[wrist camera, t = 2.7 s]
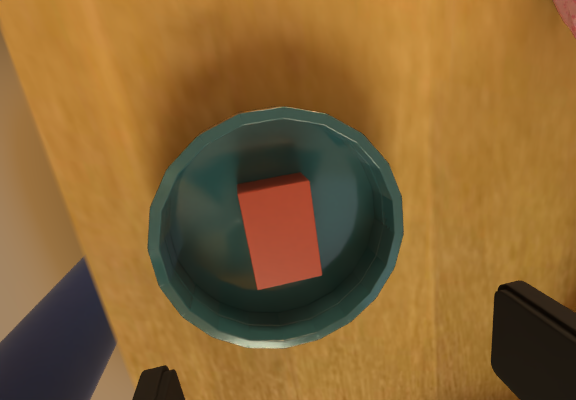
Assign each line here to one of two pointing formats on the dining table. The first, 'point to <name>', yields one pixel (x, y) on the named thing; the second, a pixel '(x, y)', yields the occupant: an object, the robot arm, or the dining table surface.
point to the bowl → (232, 238)
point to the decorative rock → (567, 13)
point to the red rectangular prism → (280, 229)
